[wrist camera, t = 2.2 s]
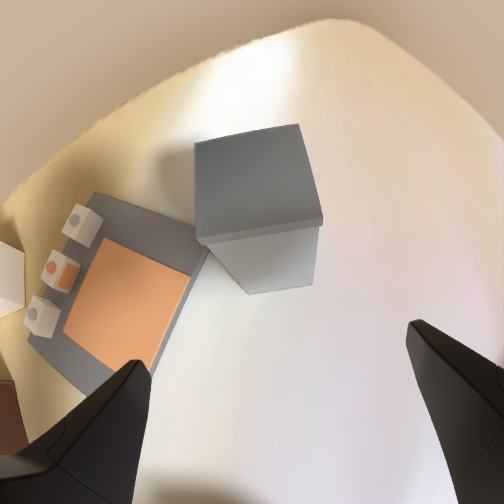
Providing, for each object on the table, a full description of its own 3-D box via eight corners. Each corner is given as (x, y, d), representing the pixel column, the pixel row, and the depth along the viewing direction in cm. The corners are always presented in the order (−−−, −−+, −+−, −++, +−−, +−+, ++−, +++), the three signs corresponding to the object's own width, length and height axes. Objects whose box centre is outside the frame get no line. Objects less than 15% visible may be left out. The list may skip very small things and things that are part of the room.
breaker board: (132, 424, 21) (105, 432, 17) (33, 342, 25) (6, 336, 21) (215, 237, 26) (200, 216, 22) (99, 196, 30) (78, 177, 26)
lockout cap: (313, 286, 23) (323, 217, 12) (247, 296, 24) (196, 238, 12) (302, 224, 25) (298, 123, 14) (240, 235, 25) (194, 143, 14)
